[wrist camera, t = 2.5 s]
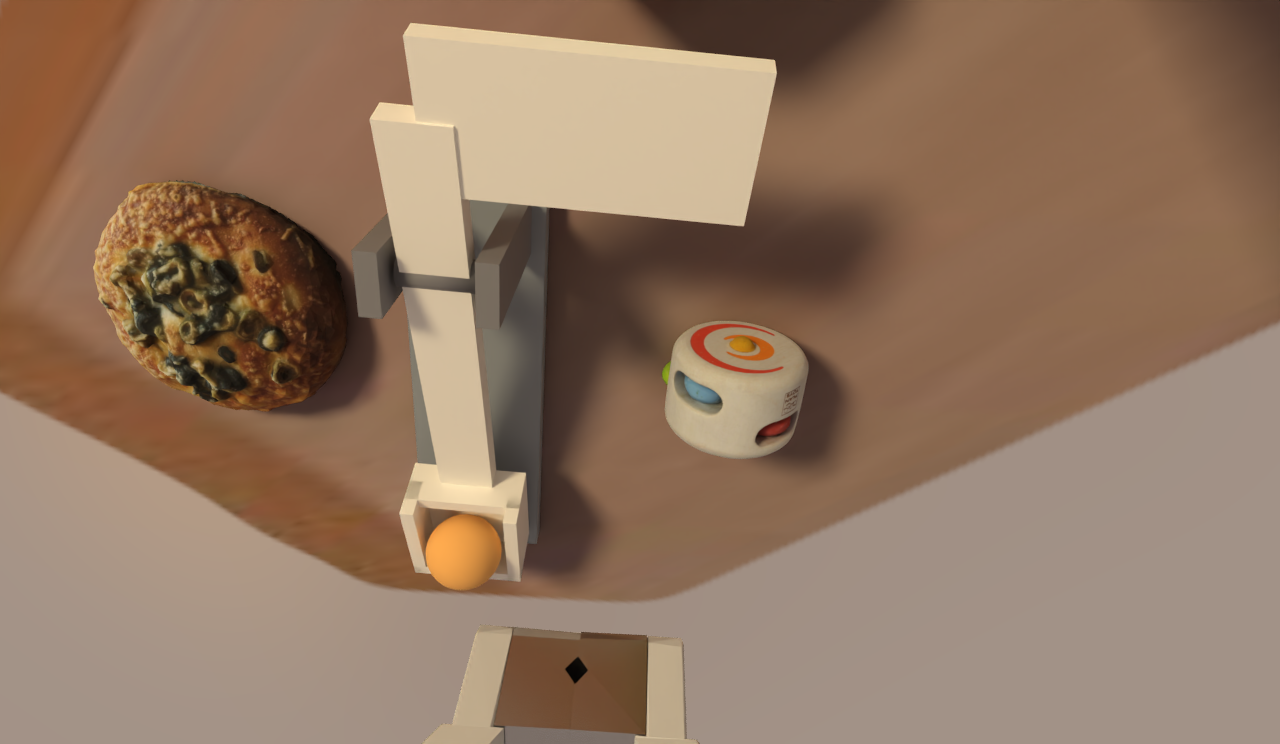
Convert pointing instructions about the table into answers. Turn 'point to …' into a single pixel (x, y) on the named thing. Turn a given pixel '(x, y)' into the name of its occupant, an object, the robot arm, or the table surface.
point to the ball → (463, 552)
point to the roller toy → (735, 388)
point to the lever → (537, 176)
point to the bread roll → (221, 295)
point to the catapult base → (487, 329)
